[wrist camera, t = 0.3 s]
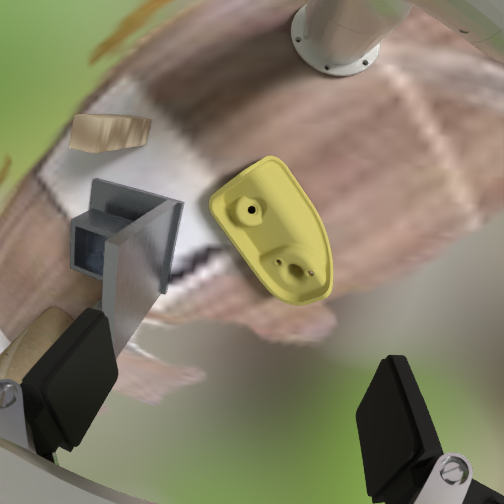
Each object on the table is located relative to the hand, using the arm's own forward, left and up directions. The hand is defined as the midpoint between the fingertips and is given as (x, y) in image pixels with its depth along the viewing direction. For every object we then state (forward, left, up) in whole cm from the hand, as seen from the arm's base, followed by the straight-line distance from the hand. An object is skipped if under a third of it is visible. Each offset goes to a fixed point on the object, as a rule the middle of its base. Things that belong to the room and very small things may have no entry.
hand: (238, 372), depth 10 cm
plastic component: (+6, +2, -37) cm, 37 cm away
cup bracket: (+14, -20, -36) cm, 44 cm away
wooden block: (-3, -22, -36) cm, 42 cm away
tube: (+41, -36, -36) cm, 66 cm away
